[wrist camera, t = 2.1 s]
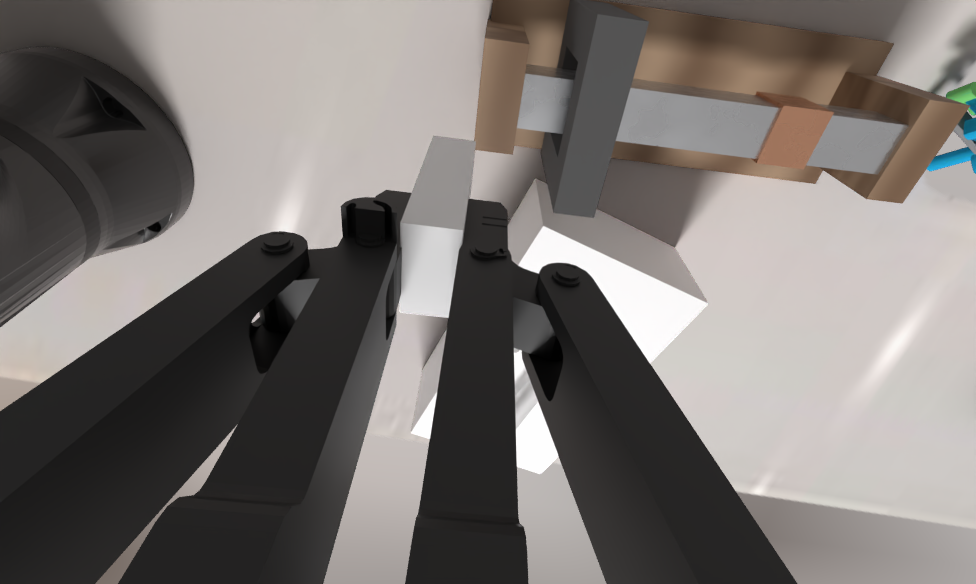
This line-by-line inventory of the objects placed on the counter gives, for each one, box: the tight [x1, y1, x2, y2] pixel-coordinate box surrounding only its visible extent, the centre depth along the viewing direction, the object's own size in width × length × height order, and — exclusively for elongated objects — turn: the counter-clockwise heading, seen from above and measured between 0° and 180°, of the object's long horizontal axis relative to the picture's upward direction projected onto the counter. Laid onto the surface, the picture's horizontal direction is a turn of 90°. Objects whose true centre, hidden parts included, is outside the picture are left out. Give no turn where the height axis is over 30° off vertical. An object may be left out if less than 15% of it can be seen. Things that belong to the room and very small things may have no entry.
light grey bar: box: [517, 64, 909, 175], centre depth 29 cm, size 25×3×3 cm, turn 83°
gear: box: [927, 82, 976, 174], centre depth 34 cm, size 11×6×10 cm
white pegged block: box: [411, 178, 709, 474], centre depth 43 cm, size 14×25×11 cm, turn 153°
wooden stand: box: [474, 0, 970, 203], centre depth 31 cm, size 27×10×9 cm, turn 83°
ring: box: [541, 0, 649, 218], centre depth 28 cm, size 2×10×10 cm, turn 173°
